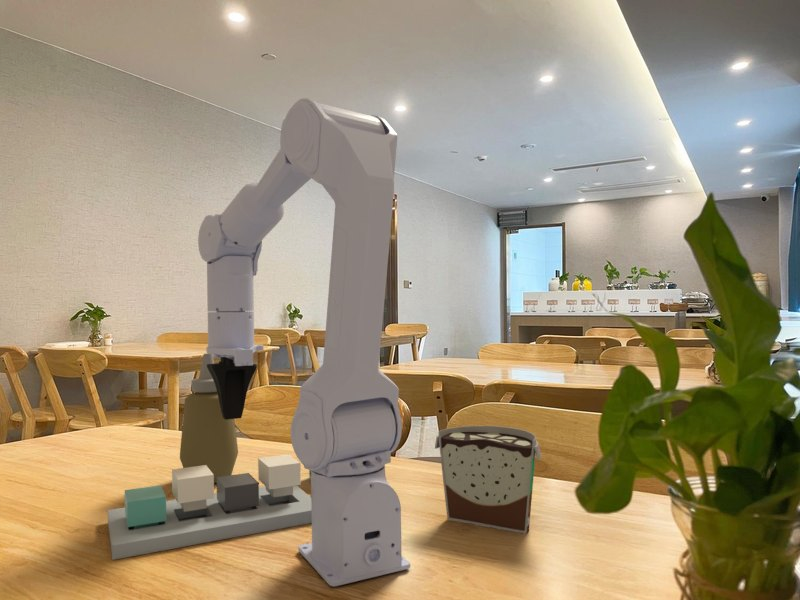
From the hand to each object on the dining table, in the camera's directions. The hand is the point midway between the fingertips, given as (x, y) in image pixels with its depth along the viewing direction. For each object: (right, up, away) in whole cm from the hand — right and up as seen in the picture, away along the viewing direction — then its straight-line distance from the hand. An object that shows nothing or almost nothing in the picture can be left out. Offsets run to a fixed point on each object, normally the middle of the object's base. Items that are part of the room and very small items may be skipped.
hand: (232, 418), depth 78 cm
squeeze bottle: (-6, -11, +9) cm, 15 cm away
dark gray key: (+2, -10, -7) cm, 12 cm away
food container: (+32, -10, -8) cm, 35 cm away
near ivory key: (+7, -8, -4) cm, 11 cm away
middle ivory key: (-2, -8, -9) cm, 12 cm away
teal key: (-6, -10, -11) cm, 16 cm away
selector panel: (0, -10, -8) cm, 13 cm away
